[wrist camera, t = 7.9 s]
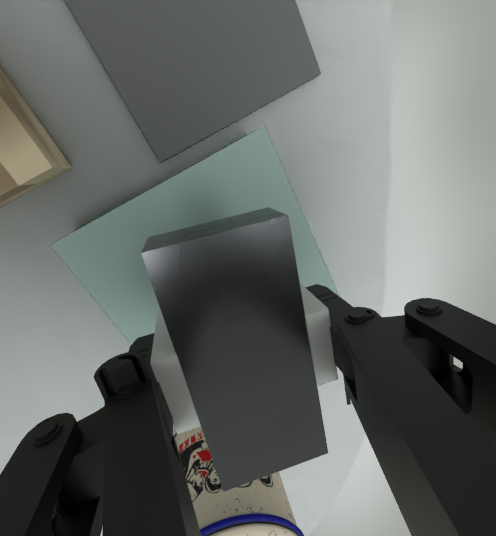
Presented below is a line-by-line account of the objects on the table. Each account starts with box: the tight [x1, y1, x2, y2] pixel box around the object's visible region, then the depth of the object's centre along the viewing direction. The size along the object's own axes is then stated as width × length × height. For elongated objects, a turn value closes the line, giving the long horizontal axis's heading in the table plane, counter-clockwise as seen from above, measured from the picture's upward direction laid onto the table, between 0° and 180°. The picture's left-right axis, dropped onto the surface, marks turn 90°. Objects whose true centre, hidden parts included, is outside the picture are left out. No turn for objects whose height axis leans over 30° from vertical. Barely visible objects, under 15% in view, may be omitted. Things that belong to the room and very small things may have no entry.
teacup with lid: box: [174, 426, 304, 536], centre depth 20 cm, size 12×9×12 cm
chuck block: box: [50, 126, 340, 345], centre depth 20 cm, size 16×12×4 cm
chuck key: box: [141, 207, 328, 492], centre depth 15 cm, size 4×9×12 cm, turn 12°
